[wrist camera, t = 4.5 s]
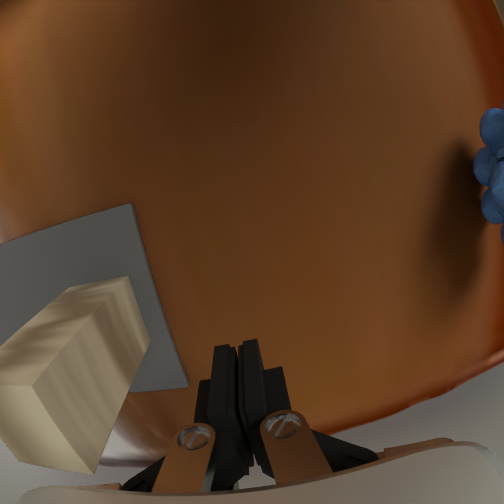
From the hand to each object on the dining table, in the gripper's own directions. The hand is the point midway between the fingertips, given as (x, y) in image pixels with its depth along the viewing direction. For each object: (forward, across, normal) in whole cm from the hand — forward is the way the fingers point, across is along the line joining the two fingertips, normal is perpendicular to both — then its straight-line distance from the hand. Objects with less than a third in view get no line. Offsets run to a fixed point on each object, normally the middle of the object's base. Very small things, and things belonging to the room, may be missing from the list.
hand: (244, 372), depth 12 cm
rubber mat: (+9, +16, 0) cm, 18 cm away
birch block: (+9, +10, 0) cm, 13 cm away
